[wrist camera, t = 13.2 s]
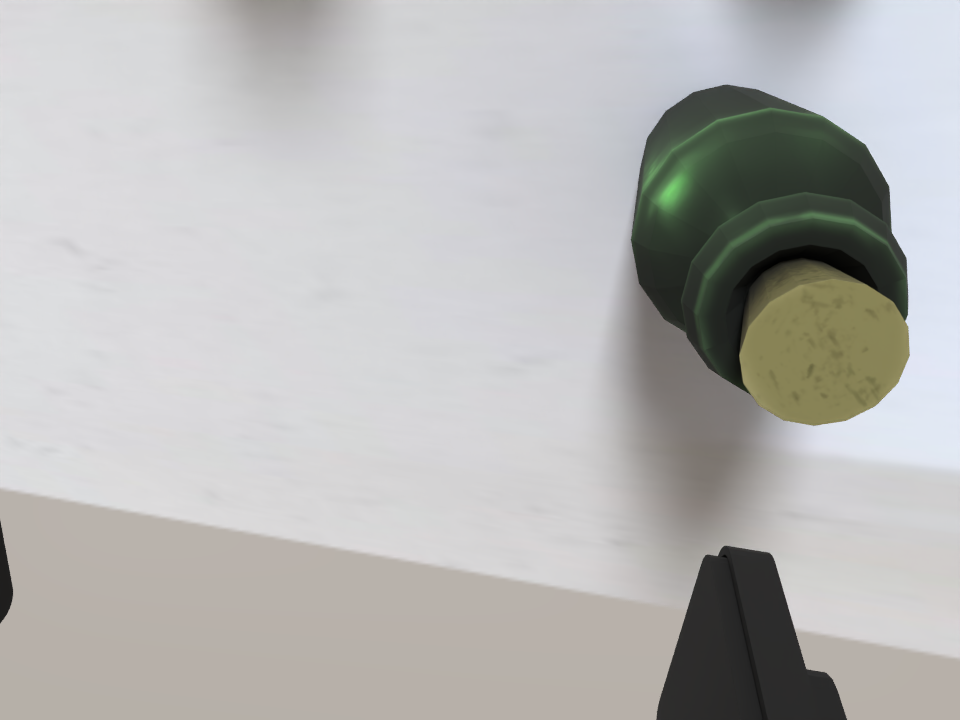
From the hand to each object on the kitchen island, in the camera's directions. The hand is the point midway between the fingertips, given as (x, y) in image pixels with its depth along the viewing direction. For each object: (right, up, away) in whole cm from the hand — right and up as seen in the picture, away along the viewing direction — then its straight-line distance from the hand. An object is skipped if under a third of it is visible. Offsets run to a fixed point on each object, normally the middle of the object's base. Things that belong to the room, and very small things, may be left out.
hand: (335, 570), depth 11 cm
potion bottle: (+12, +11, +25) cm, 30 cm away
